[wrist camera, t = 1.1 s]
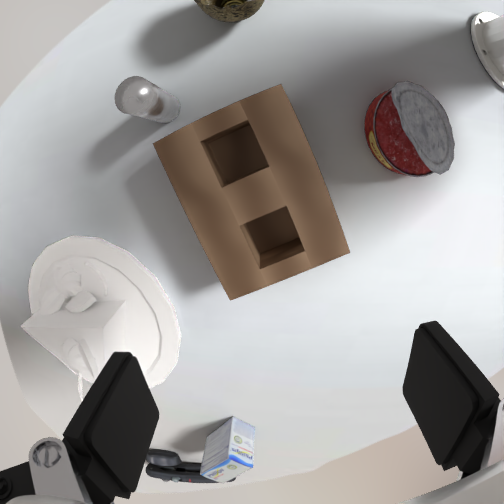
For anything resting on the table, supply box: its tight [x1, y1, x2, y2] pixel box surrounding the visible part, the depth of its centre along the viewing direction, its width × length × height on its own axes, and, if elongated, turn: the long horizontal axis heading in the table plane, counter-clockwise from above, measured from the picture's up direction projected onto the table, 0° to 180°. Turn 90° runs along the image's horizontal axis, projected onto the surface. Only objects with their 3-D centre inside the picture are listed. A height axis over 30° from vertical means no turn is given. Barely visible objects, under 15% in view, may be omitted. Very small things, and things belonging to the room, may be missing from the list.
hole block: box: [153, 84, 350, 300], centre depth 28 cm, size 12×16×6 cm
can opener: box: [146, 450, 236, 483], centre depth 45 cm, size 18×7×6 cm, turn 84°
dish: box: [20, 236, 181, 401], centre depth 32 cm, size 25×25×11 cm
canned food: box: [365, 81, 455, 177], centre depth 26 cm, size 11×10×10 cm
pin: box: [115, 76, 180, 123], centre depth 24 cm, size 3×3×9 cm
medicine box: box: [200, 417, 255, 483], centre depth 39 cm, size 8×4×9 cm, turn 143°
